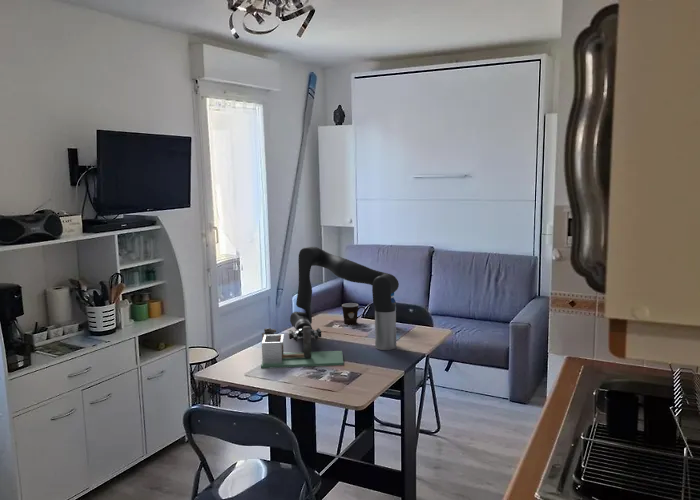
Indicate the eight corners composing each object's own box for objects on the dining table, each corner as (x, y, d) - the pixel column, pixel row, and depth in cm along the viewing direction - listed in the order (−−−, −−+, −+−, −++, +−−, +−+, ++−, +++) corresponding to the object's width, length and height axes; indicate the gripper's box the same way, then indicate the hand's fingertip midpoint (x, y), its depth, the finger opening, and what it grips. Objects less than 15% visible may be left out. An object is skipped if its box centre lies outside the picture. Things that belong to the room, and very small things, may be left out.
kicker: (311, 354, 249) (310, 325, 248) (311, 358, 244) (310, 328, 243) (277, 355, 249) (276, 326, 247) (276, 359, 244) (275, 329, 242)
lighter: (260, 349, 262) (260, 328, 261) (265, 347, 265) (264, 326, 264) (275, 352, 259) (274, 330, 257) (280, 350, 261) (279, 328, 260)
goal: (284, 354, 252) (284, 334, 251) (283, 363, 240) (282, 342, 239) (265, 354, 252) (264, 334, 251) (262, 364, 240) (261, 343, 239)
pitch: (341, 353, 256) (341, 350, 256) (343, 365, 240) (343, 362, 240) (264, 355, 254) (264, 353, 254) (261, 368, 238) (260, 365, 238)
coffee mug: (340, 325, 301) (339, 306, 300) (345, 321, 309) (344, 302, 308) (361, 326, 298) (361, 307, 296) (366, 322, 306) (365, 303, 305)
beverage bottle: (396, 325, 298) (396, 287, 296) (396, 330, 290) (395, 291, 287) (379, 325, 299) (379, 287, 296) (379, 330, 291) (378, 291, 288)
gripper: (287, 321, 265) (289, 330, 250) (318, 319, 268) (322, 329, 252) (288, 337, 267) (290, 347, 251) (319, 335, 269) (322, 345, 253)
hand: (306, 338), depth 251 cm, fingers open, 8 cm apart
